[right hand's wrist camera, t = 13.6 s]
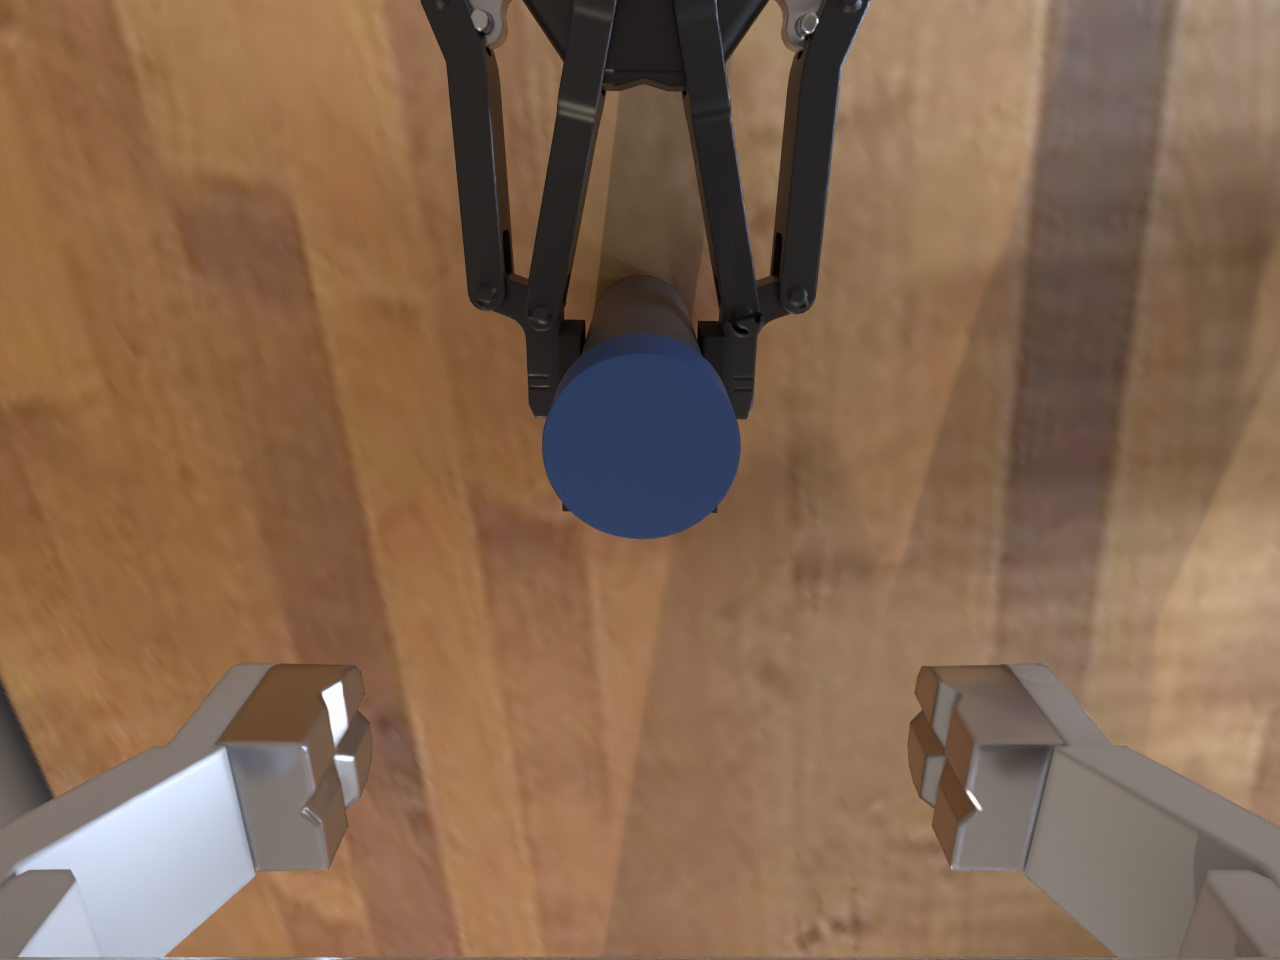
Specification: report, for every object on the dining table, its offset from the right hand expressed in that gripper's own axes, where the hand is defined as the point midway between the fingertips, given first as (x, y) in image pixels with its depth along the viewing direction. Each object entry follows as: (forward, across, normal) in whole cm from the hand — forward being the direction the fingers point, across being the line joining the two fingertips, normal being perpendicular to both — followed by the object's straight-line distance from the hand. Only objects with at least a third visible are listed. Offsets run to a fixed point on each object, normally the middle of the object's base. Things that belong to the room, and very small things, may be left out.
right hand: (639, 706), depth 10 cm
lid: (+10, 0, 0) cm, 10 cm away
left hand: (+20, 0, -5) cm, 21 cm away
